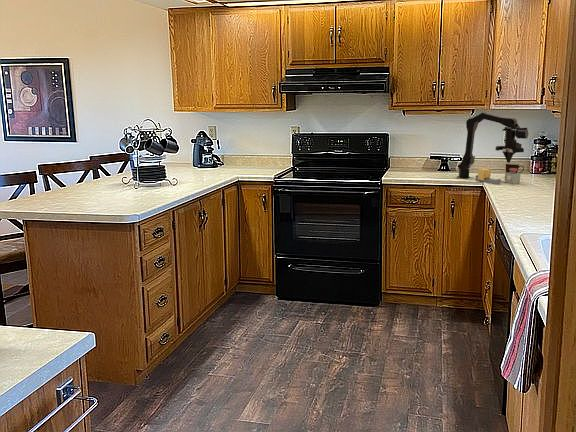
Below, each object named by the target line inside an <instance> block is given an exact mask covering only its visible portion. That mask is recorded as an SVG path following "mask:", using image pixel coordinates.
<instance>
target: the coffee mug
mask: <svg viewBox="0 0 576 432" xmlns="http://www.w3.org/2000/svg"><path fill="white" fill-rule="evenodd" d="M520 167H522V170H521V171H519V168H520ZM510 168H516V169H517V171H515V173H519V174H521V173H522V172H523V171H524V170H525V166H523V165H520V163H516V162H510V163H508V162H506V163H505V173H509V172H511V170H510Z"/></svg>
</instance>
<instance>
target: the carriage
mask: <svg viewBox="0 0 576 432" xmlns="http://www.w3.org/2000/svg"><path fill="white" fill-rule="evenodd" d="M477 171H478V172H477V175H478V179H480V180H484V179H485V178H491V171H492V170H491V169H488V168H478V170H477Z"/></svg>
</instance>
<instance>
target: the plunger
mask: <svg viewBox="0 0 576 432" xmlns="http://www.w3.org/2000/svg"><path fill="white" fill-rule="evenodd" d="M510 170H511V174H515V171H517V169H516V168H510Z"/></svg>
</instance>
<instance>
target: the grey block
mask: <svg viewBox="0 0 576 432" xmlns="http://www.w3.org/2000/svg"><path fill="white" fill-rule="evenodd" d="M504 183H508V184H520V183H521V173H519V172H517V173H515V174H511V172H509V173H506V172H505V173H504Z"/></svg>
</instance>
